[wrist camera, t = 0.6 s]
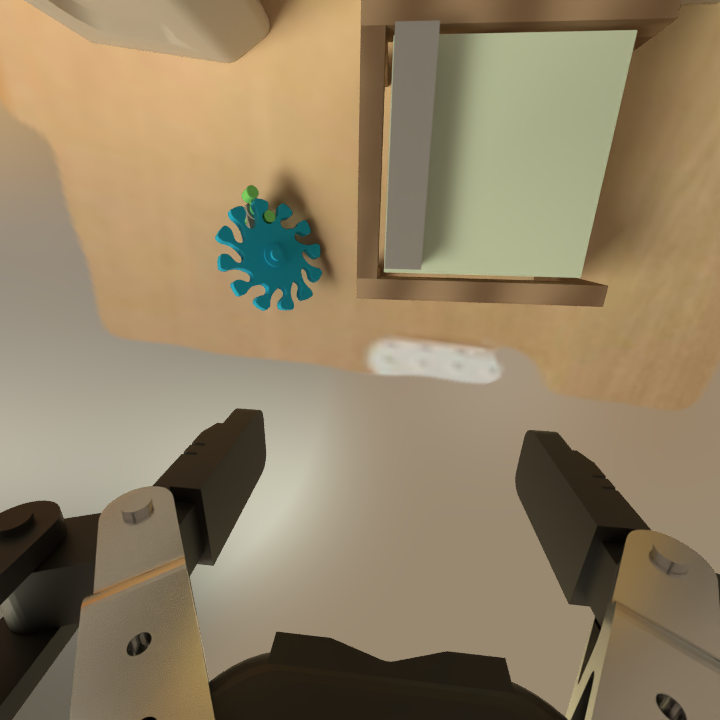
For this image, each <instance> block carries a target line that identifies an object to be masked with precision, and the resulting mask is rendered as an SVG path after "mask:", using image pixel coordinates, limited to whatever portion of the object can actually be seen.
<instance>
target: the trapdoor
mask: <svg viewBox="0 0 720 720" xmlns="http://www.w3.org/2000/svg"><path fill="white" fill-rule="evenodd" d="M439 29H440V20H435V21H395V35H394V39H393V63H392V87H391V111H390V136H389V160H388V184H387V208H386V232H385V257H384V272H392V273H427V274H462V275H497V276H532V277H566V278H581V274H582V270H583V265H584V261H585V257H586V252H587V248H588V244H589V239H590V235H591V231H592V226H593V222H594V218H595V213H596V209H597V204H598V200H599V196H600V191H601V187H602V183H603V178H604V174H605V170H606V165H607V161H608V157H609V152H610V148H611V144H612V139H613V135H614V130H615V126H616V122H617V117H618V113H619V109H620V104H621V100H622V96H623V91H624V87H625V83H626V78H627V74H628V70H629V65H630V61H631V56H632V52H633V48H634V43H635V39H636V35H637V30H614V31H568V32H522V33H476V34H439Z"/></svg>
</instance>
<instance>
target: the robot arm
mask: <svg viewBox="0 0 720 720" xmlns="http://www.w3.org/2000/svg"><path fill="white" fill-rule="evenodd" d="M265 461H266V444H265V432H264V418H263V413H262V411H261V410H252V409H235V410H234V411H233V412H232V413H231V415H230V416H229V417H228V418H227V419H226V420H225V422H224V423H216V424H215V425H213V426H212V427H210V428H208V429H206V430H204V431H203V432H202V433H201V434H200V435H199V436H198V437H197V438H196V439H195V440H194V441H193V443H192V445H190V446H189V447H188V448H187V449H186V450H185V451H184V454H181V456H180V457H179V458H178V459H177V460H176V461H175V462H174V463H173V464H172V465H171V466H170V467H169V469H168V470H167V471H166V472H165V473H164V474H163V475H162V476H161V477H160V478H159V479H158V481H157V482H156V483H155V484H154V485H153V486H149V487H143V488H139V489H135V490H132V491H130V492H128V493H125V494H123V495H121V496H120V497H118V498H117V499H115V500H114V501H112V502H111V503H110V504H109V505H108V506H107V507H106V508H105V509H104V510H103V512H102V513H99V514H92V515H85V516H79V517H72V518H66V519H64V518H63V515H62V512H61V510H60V507H59V506H58V504H56V503H55V502H51V501H35V502H29V503H25V504H22V505H18V506H16V507H13V508H10V509H8V510H6V511H4V512H2V513H0V611H1V613H2V615H3V617H2V618H1V619H0V720H12V719H13V718H14V716H15V715H16V713H17V712H18V710H19V709H20V708H21V706H22V705H23V704H24V702H25V701H26V699H27V698H28V697H29V695H30V694H31V693H32V691H33V690H34V688H35V687H36V686H37V684H38V683H39V681H40V680H41V679H42V677H43V676H44V675H45V673H46V672H47V670H48V669H49V667H50V666H51V665H52V663H53V662H54V661H55V659H56V658H57V656H58V655H59V654H60V652H61V651H62V650H63V648H64V647H65V645H66V644H67V643H68V641H69V640H70V638H71V637H72V636H73V634H74V633H75V632H76V630H77V629H78V627H79V631H78V641H77V652H76V661H75V672H74V682H73V692H72V702H71V712H70V720H720V574H717V573H715V571H714V570H713V569H712V567H711V566H710V565H709V563H708V562H707V561H706V560H705V559H704V558H703V557H702V556H701V555H699V554H698V553H697V552H696V551H694V550H693V549H691V548H690V547H689V546H687V545H685V544H684V543H682V542H680V541H678V540H676V539H674V538H672V537H670V536H668V535H665V534H662V533H659V532H656V531H652V530H650V528H649V527H648V526H647V525H646V523H645V522H644V521H643V520H642V519H641V517H640V516H639V515H638V514H637V513H636V512H635V510H634V509H633V508H632V507H631V506H630V504H629V503H628V502H627V501H626V500H625V499H624V497H623V496H622V495H621V494H620V493H619V492H618V491H616V490H615V487H614V486H613V485H612V483H611V482H610V481H609V480H608V479H606V478H605V475H604V474H603V473H602V472H601V470H600V469H599V468H598V467H597V466H596V465H595V463H594V462H592V461H591V460H589V459H588V458H586V457H585V456H584V455H582V454H581V453H579V452H578V451H574V450H571V448H570V447H569V446H568V445H567V443H566V442H565V441H564V440H563V438H562V437H561V436H560V435H559V434H558V433H557V432H549V431H535V430H529V431H527V432H526V434H525V437H524V441H523V445H522V449H521V454H520V458H519V463H518V466H517V471H516V477H515V483H516V489H517V493H518V496H519V498H520V500H521V502H522V505H523V507H524V509H525V511H526V513H527V515H528V518H529V520H530V522H531V524H532V526H533V528H534V530H535V533H536V535H537V537H538V539H539V541H540V543H541V545H542V548H543V550H544V552H545V554H546V556H547V558H548V560H549V562H550V564H551V567H552V569H553V571H554V573H555V575H556V578H557V580H558V582H559V584H560V586H561V588H562V590H563V593H564V595H565V597H566V599H567V601H568V603H569V604H573V605H582V606H590V607H591V609H592V611H593V613H594V615H595V617H594V619H593V621H592V624H591V627H590V630H589V634H588V637H587V641H586V645H585V649H584V652H583V656H582V659H581V663H580V667H579V671H578V674H577V678H576V682H575V685H574V689H573V693H572V696H571V700H570V703H569V706H568V709H567V712H566V714H565V716H563V715H562V714H561V713H560V712H558V711H557V710H556V709H555V708H554V707H552V706H551V705H550V704H549V703H547V702H546V701H544V700H543V699H541V698H540V697H539V696H537V695H535V694H534V693H532V692H531V691H529V690H527V689H525V688H523V687H521V686H519V685H518V684H515V683H513V682H511V679H510V675H509V671H508V668H507V664H506V660H505V658H500V657H491V656H482V655H474V654H465V653H456V652H448V651H447V652H442V653H436V654H431V655H426V656H420V657H415V658H410V659H405V660H399V661H394V662H388V661H383V660H380V659H378V658H376V657H374V656H371V655H369V654H367V653H364V652H362V651H360V650H357V649H355V648H353V647H350V646H348V645H346V644H344V643H341V642H339V641H336V640H334V639H332V638H326V637H318V636H308V635H300V634H292V633H283V632H276V635H275V639H274V642H273V645H272V649H271V652H270V653H265V654H261V655H258V656H255V657H252V658H249V659H246V660H244V661H242V662H240V663H238V664H236V665H234V666H232V667H231V668H229V669H227V670H226V671H224V672H222V673H221V674H219V675H218V676H217V677H215V678H214V679H213V680H211V681H210V679H209V674H208V669H207V664H206V659H205V654H204V649H203V644H202V639H201V634H200V628H199V624H198V618H197V613H196V608H195V602H194V597H193V592H192V587H191V582H190V575H191V573H192V571H193V570H194V568H195V566H196V565H197V564H202V565H212V566H213V565H214V564H215V562H216V560H217V558H218V556H219V554H220V552H221V550H222V548H223V546H224V545H225V543H226V541H227V539H228V537H229V535H230V533H231V531H232V529H233V528H234V526H235V524H236V521H237V520H238V518H239V516H240V514H241V512H242V510H243V508H244V507H245V505H246V503H247V501H248V499H249V497H250V495H251V493H252V491H253V489H254V488H255V485H256V484H257V482H258V480H259V478H260V476H261V474H262V472H263V469H264V466H265Z"/></svg>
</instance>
